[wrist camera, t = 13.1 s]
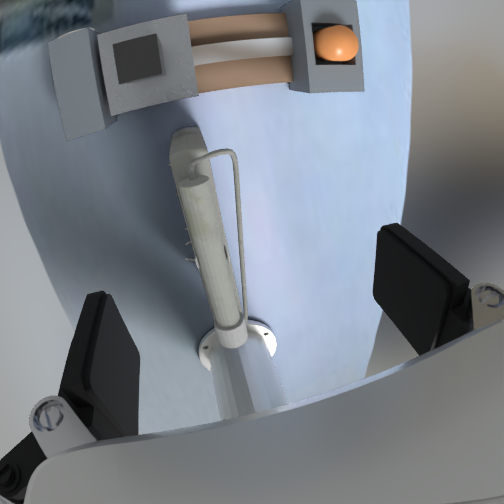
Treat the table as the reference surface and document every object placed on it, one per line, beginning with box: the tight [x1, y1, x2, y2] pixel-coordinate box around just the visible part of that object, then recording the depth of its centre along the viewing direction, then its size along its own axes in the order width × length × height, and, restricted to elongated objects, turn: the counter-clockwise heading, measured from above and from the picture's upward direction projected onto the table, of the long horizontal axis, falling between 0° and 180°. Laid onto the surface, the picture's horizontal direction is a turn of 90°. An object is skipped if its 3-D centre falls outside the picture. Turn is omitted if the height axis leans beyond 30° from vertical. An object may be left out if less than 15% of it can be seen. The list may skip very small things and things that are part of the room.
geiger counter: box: [168, 127, 248, 348], centre depth 33 cm, size 14×6×25 cm
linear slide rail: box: [48, 0, 364, 141], centre depth 26 cm, size 10×29×6 cm, turn 97°
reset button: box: [312, 25, 359, 61], centre depth 25 cm, size 4×4×4 cm
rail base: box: [188, 13, 294, 93], centre depth 28 cm, size 8×29×2 cm, turn 97°
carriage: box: [97, 14, 199, 116], centre depth 21 cm, size 8×8×10 cm
